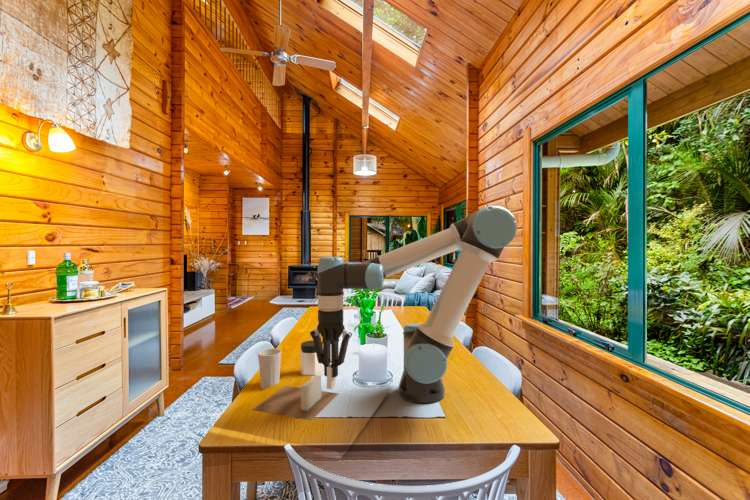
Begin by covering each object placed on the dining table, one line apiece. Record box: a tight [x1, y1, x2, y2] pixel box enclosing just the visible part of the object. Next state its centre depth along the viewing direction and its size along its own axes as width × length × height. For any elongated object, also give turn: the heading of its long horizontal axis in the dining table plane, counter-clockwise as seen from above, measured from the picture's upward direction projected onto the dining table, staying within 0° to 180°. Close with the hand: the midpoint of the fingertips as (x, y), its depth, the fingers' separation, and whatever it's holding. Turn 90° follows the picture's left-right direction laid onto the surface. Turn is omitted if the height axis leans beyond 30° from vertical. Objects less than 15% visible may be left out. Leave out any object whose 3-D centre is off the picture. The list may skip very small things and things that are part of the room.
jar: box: [300, 339, 325, 377], centre depth 135 cm, size 9×8×12 cm
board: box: [251, 385, 339, 421], centre depth 110 cm, size 20×18×1 cm
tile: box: [300, 375, 322, 411], centre depth 108 cm, size 2×9×7 cm, turn 161°
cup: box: [257, 348, 282, 390], centre depth 124 cm, size 8×8×12 cm
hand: (331, 387), depth 106 cm, fingers closed
